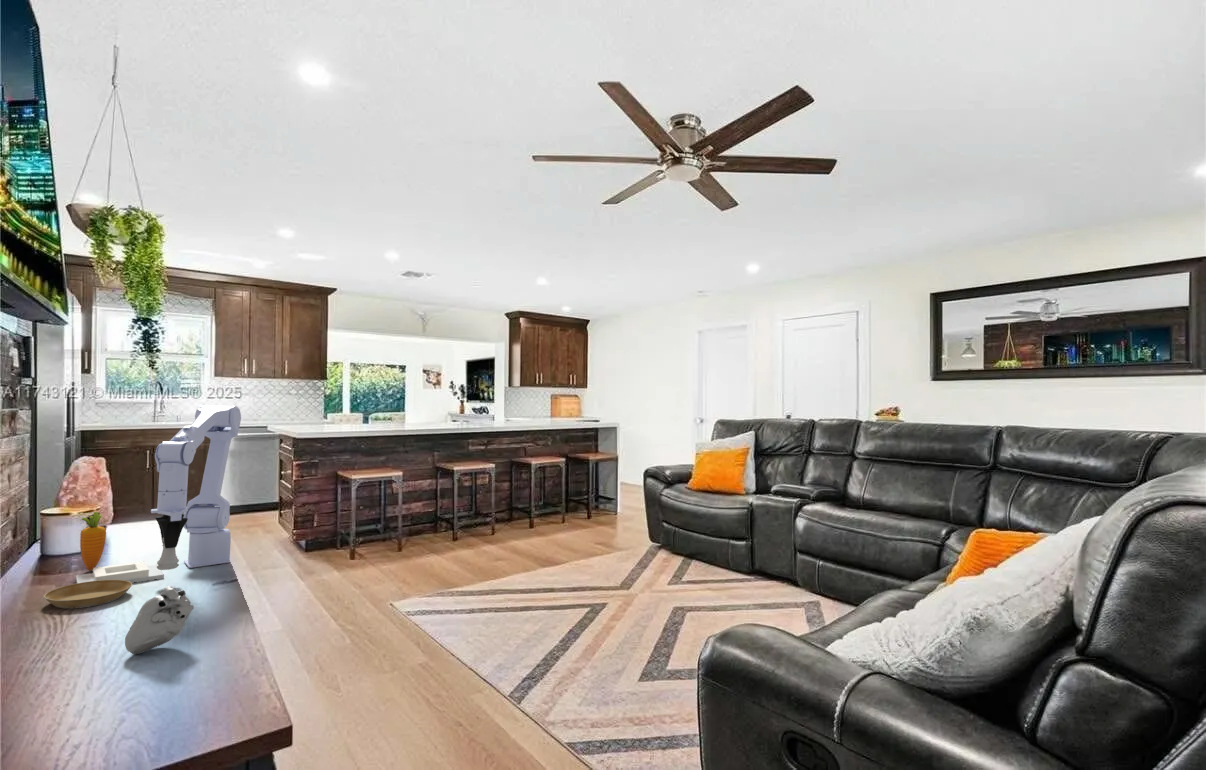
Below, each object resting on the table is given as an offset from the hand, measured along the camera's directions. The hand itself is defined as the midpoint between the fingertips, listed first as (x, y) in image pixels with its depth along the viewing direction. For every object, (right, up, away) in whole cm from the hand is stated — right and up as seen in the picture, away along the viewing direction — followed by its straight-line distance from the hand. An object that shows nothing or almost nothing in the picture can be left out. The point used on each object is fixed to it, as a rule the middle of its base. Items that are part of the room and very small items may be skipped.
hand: (169, 546), depth 139 cm
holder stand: (-15, -9, +3) cm, 18 cm away
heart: (+25, -9, -36) cm, 45 cm away
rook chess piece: (0, -5, 0) cm, 5 cm away
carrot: (-27, -9, +9) cm, 30 cm away
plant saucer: (-9, -9, -12) cm, 18 cm away
